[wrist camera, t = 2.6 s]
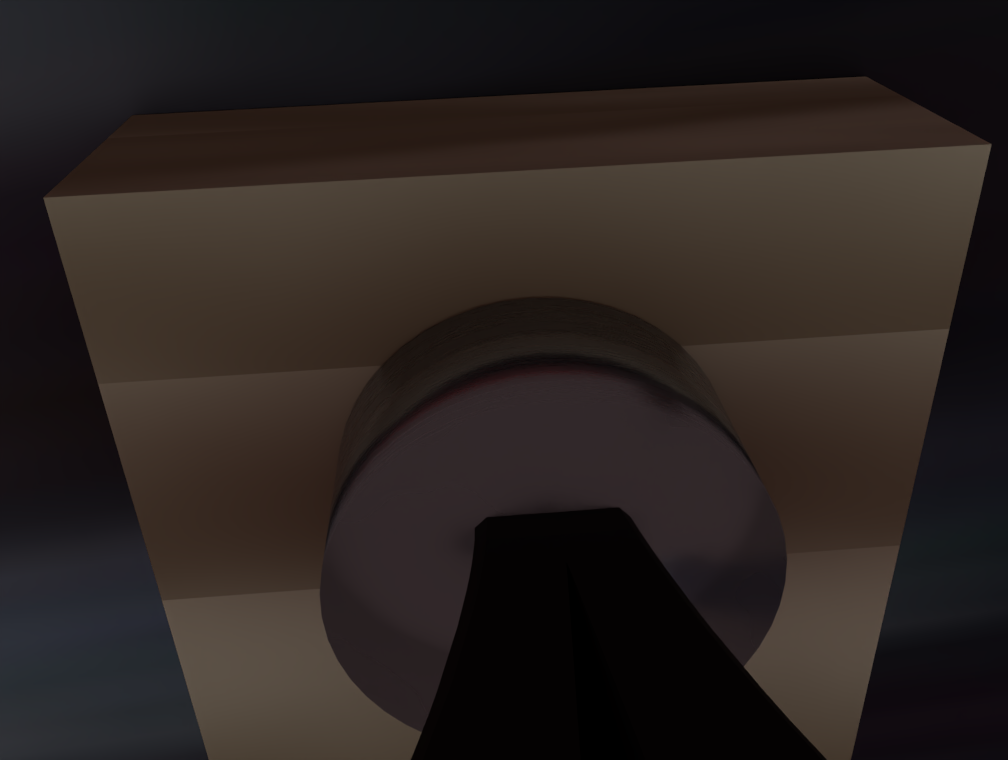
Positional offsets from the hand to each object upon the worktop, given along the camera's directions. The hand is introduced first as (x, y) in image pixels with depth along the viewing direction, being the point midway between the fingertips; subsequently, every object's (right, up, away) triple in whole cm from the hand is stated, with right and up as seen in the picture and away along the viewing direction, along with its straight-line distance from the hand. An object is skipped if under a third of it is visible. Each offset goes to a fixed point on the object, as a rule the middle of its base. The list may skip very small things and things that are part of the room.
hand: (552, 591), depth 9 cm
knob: (0, +2, +4) cm, 4 cm away
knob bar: (0, -6, +9) cm, 11 cm away
